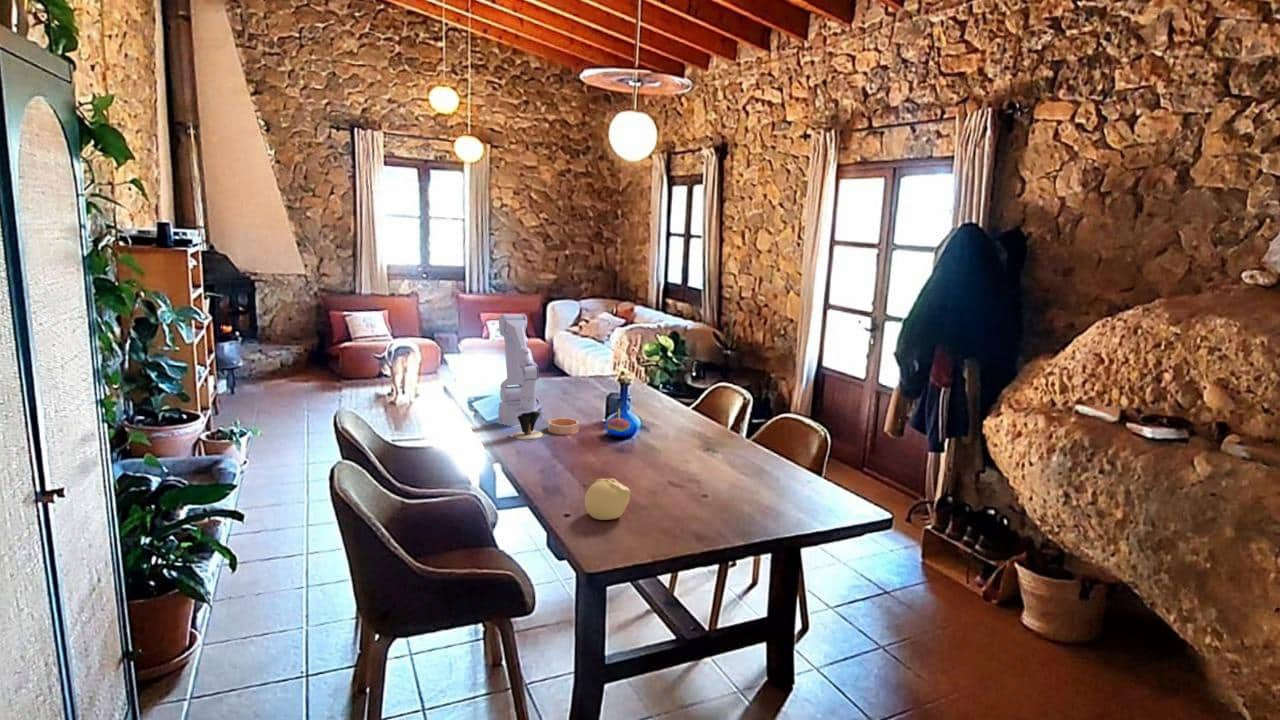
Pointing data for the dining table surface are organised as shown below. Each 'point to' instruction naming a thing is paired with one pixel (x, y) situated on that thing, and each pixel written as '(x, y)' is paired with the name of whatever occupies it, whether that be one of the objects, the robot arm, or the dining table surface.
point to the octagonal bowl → (563, 426)
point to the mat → (534, 439)
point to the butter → (607, 499)
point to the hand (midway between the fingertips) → (527, 431)
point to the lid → (527, 434)
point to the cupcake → (619, 423)
